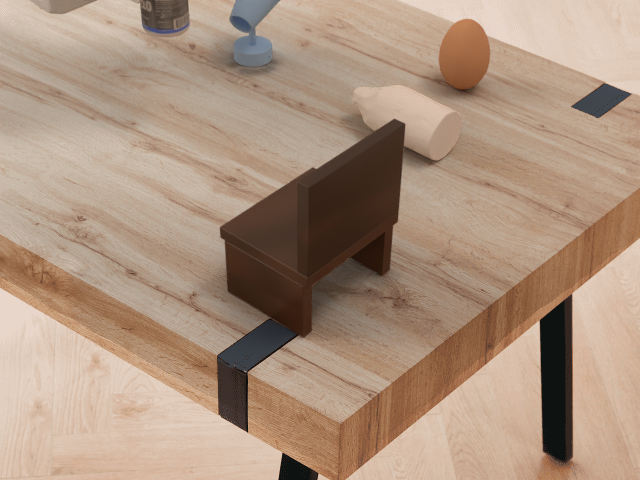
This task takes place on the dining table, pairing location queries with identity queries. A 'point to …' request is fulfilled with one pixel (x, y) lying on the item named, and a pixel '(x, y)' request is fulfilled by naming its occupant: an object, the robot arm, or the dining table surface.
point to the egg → (464, 54)
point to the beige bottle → (411, 118)
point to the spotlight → (251, 32)
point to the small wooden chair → (317, 228)
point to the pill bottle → (165, 17)
